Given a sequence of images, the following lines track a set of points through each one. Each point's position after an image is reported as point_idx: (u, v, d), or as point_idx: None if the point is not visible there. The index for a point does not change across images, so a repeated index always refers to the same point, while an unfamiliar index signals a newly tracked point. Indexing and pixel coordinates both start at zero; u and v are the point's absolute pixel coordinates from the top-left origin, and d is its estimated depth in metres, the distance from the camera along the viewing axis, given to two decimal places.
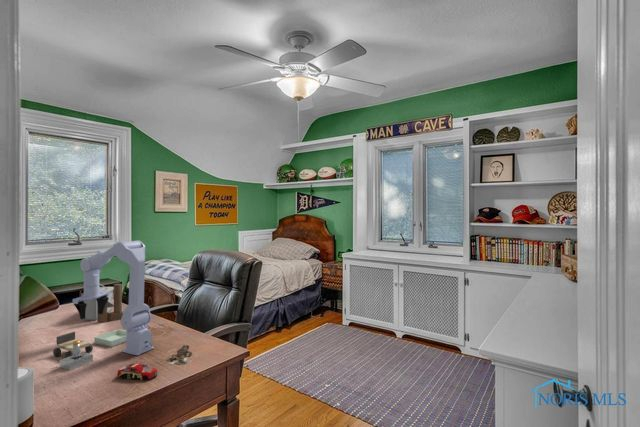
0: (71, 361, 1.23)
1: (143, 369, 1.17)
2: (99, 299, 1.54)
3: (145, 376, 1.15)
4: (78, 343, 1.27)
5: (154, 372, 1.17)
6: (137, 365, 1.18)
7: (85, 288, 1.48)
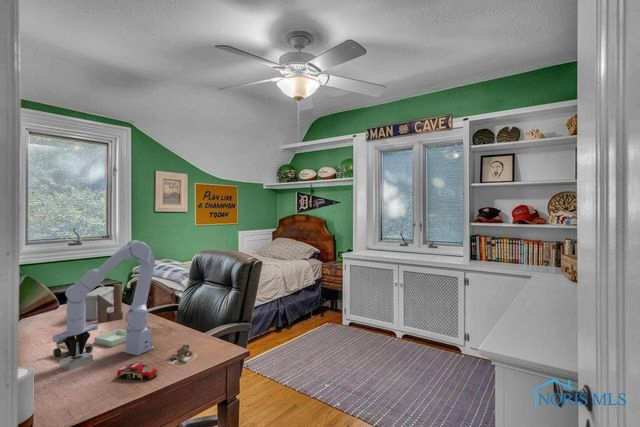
0: (71, 361, 1.23)
1: (143, 369, 1.17)
2: (78, 336, 1.28)
3: (145, 376, 1.15)
4: (78, 343, 1.27)
5: (154, 372, 1.17)
6: (137, 365, 1.18)
7: (68, 322, 1.24)
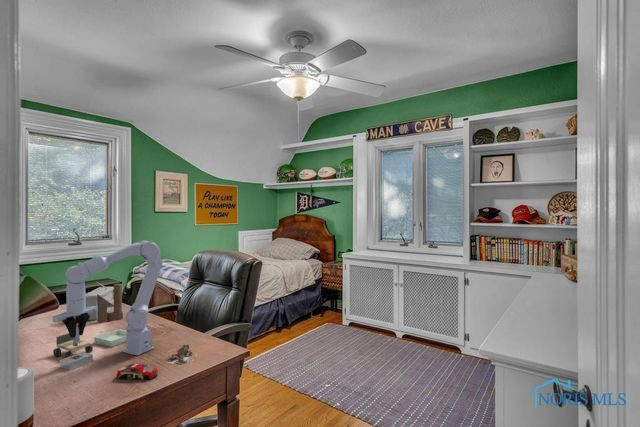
0: (71, 361, 1.23)
1: (144, 369, 1.17)
2: (78, 317, 1.28)
3: (146, 376, 1.15)
4: (78, 324, 1.26)
5: (155, 371, 1.17)
6: (137, 365, 1.18)
7: (68, 303, 1.24)
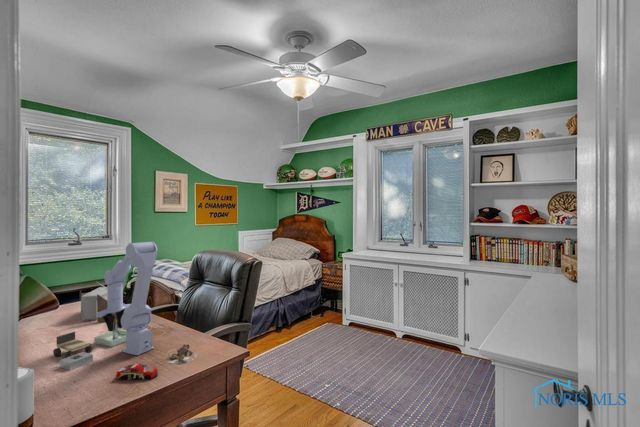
0: (71, 361, 1.23)
1: (144, 369, 1.17)
2: (118, 313, 1.51)
3: (147, 375, 1.16)
4: (117, 321, 1.50)
5: (156, 371, 1.18)
6: (137, 365, 1.18)
7: (109, 301, 1.47)
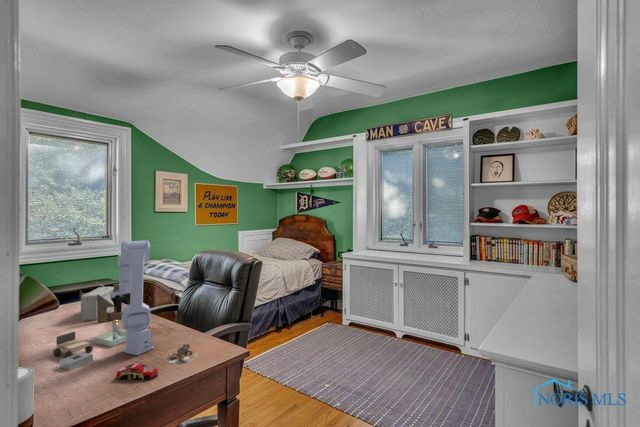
0: (71, 361, 1.23)
1: (144, 369, 1.17)
2: None
3: (147, 375, 1.16)
4: (116, 321, 1.49)
5: (155, 371, 1.18)
6: (137, 365, 1.18)
7: (121, 283, 1.57)
